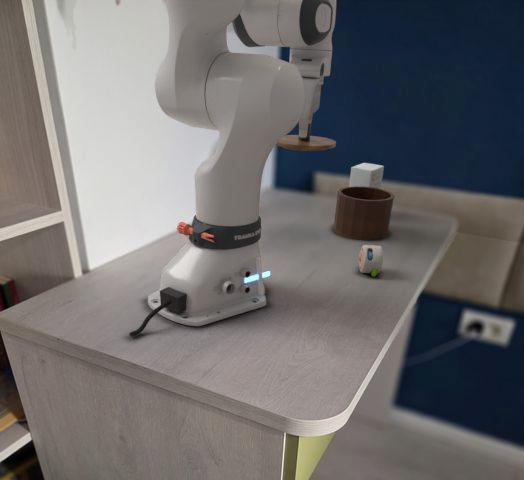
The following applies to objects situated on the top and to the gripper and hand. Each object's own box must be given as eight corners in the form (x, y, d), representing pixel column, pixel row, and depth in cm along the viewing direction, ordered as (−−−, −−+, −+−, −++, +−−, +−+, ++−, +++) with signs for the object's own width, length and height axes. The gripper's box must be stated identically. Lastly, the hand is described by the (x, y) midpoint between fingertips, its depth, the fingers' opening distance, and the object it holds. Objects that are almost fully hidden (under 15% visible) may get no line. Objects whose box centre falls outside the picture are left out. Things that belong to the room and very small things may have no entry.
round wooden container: (369, 244, 120) (375, 204, 115) (323, 230, 127) (327, 192, 122) (397, 231, 129) (404, 194, 123) (352, 219, 136) (357, 183, 131)
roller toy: (359, 277, 102) (363, 250, 99) (355, 265, 108) (359, 240, 105) (380, 278, 102) (385, 251, 99) (375, 266, 108) (380, 241, 105)
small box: (357, 208, 145) (363, 162, 138) (377, 213, 142) (385, 165, 135) (344, 215, 139) (350, 166, 132) (365, 219, 136) (372, 170, 129)
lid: (309, 155, 105) (311, 130, 103) (258, 145, 113) (259, 121, 111) (347, 148, 115) (350, 125, 112) (298, 139, 123) (300, 117, 120)
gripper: (302, 63, 115) (297, 128, 122) (287, 66, 97) (282, 141, 105) (329, 65, 114) (323, 130, 121) (319, 68, 97) (312, 144, 104)
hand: (304, 135), depth 113 cm, fingers closed on lid, 2 cm apart
